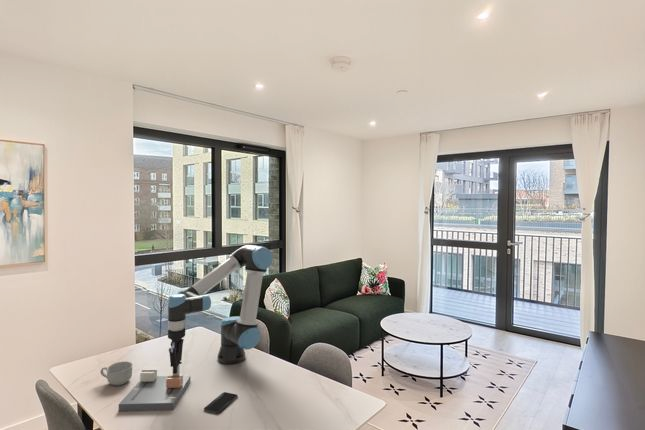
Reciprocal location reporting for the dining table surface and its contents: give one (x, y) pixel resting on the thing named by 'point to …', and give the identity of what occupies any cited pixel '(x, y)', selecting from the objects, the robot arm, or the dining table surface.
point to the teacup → (118, 373)
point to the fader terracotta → (174, 381)
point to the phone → (220, 403)
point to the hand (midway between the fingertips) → (175, 379)
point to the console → (153, 395)
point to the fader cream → (148, 375)
